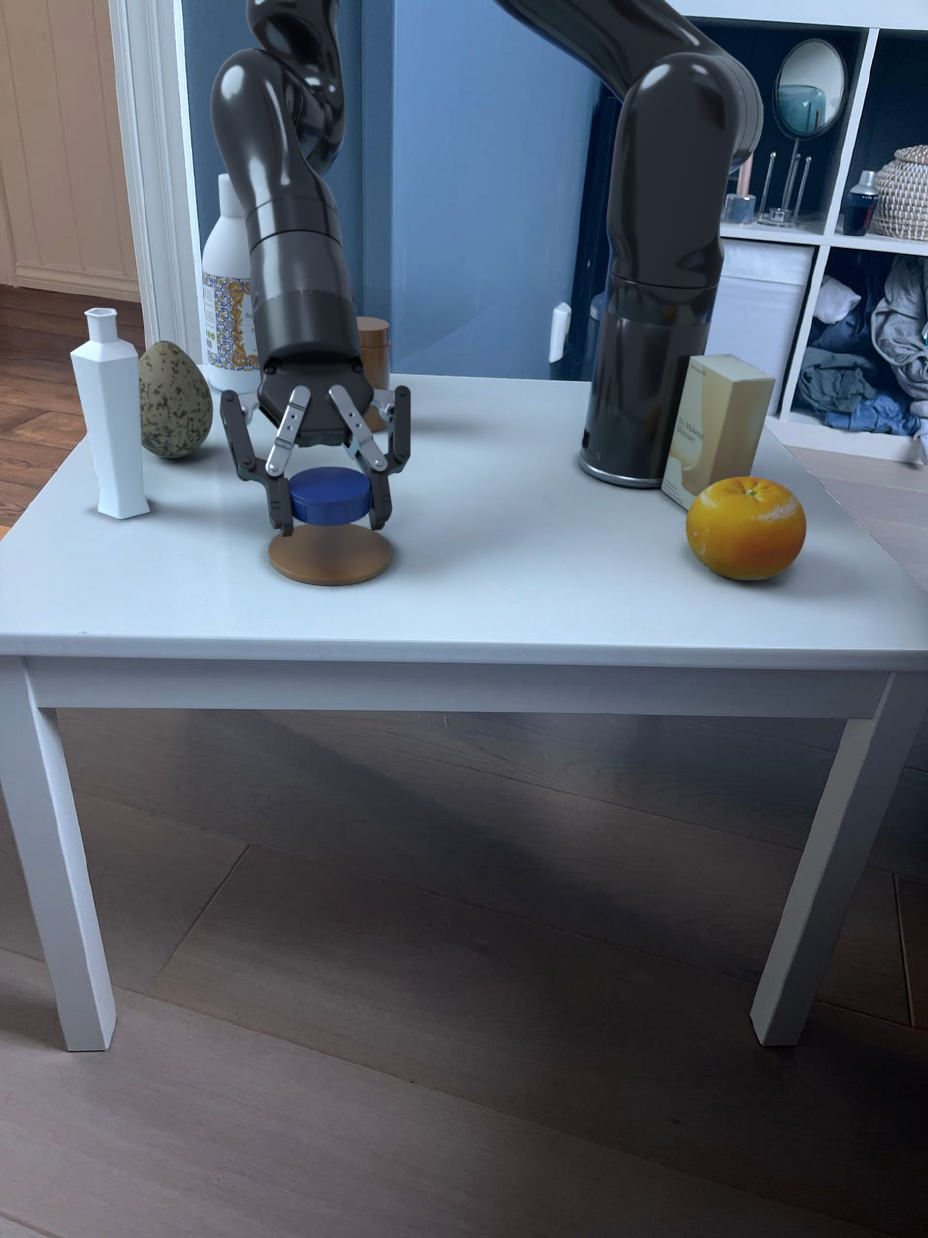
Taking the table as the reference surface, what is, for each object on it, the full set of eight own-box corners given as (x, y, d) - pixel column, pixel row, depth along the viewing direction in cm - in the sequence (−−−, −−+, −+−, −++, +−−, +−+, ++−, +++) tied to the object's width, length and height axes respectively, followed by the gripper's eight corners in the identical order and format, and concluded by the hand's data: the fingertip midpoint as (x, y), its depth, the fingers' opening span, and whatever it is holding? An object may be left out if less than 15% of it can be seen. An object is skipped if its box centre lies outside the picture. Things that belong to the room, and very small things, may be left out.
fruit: (654, 499, 75) (729, 436, 70) (731, 524, 80) (806, 466, 74) (681, 591, 71) (762, 531, 66) (760, 612, 76) (842, 558, 70)
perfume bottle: (139, 525, 73) (116, 324, 65) (85, 516, 74) (56, 316, 66) (167, 500, 77) (149, 308, 69) (116, 492, 78) (91, 300, 70)
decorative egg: (158, 434, 88) (147, 323, 83) (230, 448, 87) (224, 336, 82) (113, 463, 82) (99, 345, 77) (190, 478, 81) (180, 359, 76)
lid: (271, 506, 69) (269, 482, 68) (334, 482, 73) (333, 459, 72) (324, 534, 66) (323, 509, 65) (387, 508, 70) (387, 484, 69)
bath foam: (233, 400, 97) (222, 183, 86) (196, 380, 101) (181, 171, 91) (291, 388, 101) (287, 180, 91) (253, 369, 105) (245, 168, 95)
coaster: (376, 523, 76) (377, 517, 76) (405, 579, 69) (405, 573, 69) (260, 531, 74) (260, 525, 73) (277, 591, 67) (277, 584, 66)
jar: (381, 412, 97) (385, 315, 92) (393, 431, 93) (397, 330, 88) (332, 414, 96) (332, 316, 91) (342, 433, 92) (343, 331, 87)
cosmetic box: (658, 490, 86) (685, 353, 79) (699, 486, 87) (729, 351, 81) (701, 522, 81) (733, 379, 74) (743, 516, 83) (778, 375, 76)
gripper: (389, 337, 77) (420, 539, 74) (203, 339, 73) (227, 553, 70) (409, 286, 70) (444, 507, 67) (204, 284, 66) (231, 520, 63)
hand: (333, 529), depth 69 cm, fingers closed on lid, 6 cm apart
